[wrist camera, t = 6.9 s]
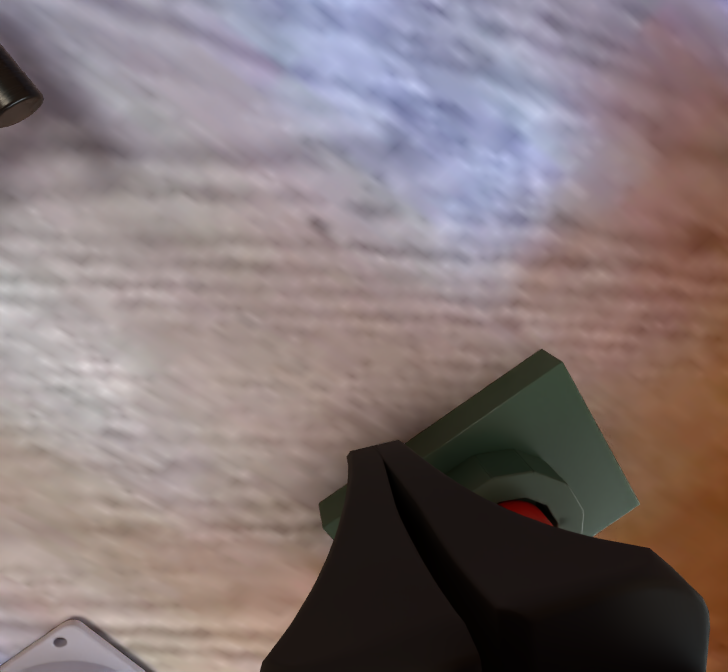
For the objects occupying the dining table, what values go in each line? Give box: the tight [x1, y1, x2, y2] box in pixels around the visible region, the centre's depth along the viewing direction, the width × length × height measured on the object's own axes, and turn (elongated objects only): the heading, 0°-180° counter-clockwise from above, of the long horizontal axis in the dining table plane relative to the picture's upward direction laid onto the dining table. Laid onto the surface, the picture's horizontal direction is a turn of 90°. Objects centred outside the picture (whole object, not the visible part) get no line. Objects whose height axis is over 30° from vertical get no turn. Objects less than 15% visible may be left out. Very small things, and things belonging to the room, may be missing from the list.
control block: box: [319, 349, 640, 540], centre depth 22 cm, size 12×9×4 cm
